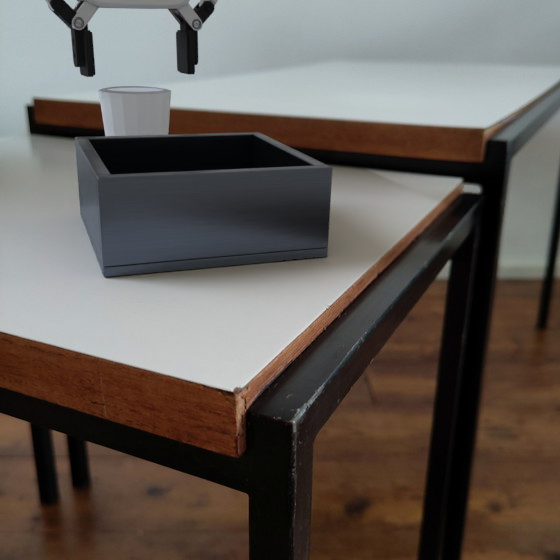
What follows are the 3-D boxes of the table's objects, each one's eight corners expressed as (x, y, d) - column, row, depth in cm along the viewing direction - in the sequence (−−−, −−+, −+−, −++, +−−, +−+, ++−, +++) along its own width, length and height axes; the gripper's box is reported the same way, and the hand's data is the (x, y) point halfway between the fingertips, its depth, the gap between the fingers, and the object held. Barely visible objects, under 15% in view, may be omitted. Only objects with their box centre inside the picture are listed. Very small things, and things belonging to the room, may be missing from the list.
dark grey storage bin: (80, 214, 51) (74, 136, 49) (258, 203, 55) (259, 132, 53) (103, 277, 39) (97, 178, 37) (327, 257, 43) (333, 167, 41)
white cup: (118, 153, 73) (114, 84, 71) (181, 157, 72) (180, 87, 70) (91, 165, 67) (86, 90, 64) (160, 170, 66) (157, 93, 63)
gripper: (203, -115, 67) (207, 70, 73) (15, -134, 60) (37, 73, 66) (235, -127, 61) (237, 75, 67) (30, -151, 54) (53, 80, 60)
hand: (138, 74), depth 67 cm, fingers open, 9 cm apart
